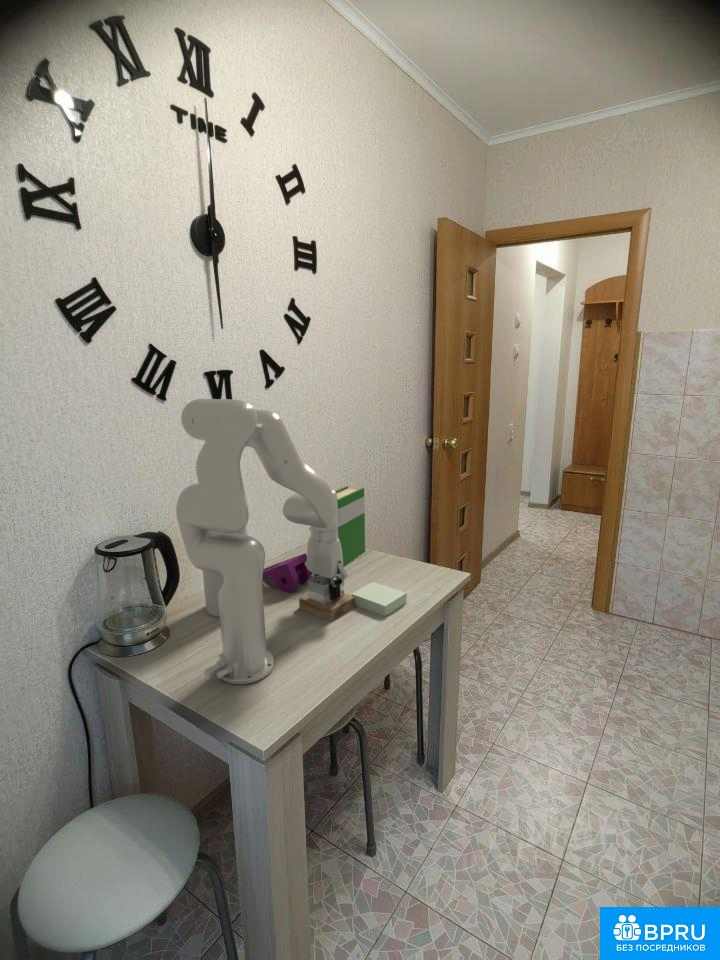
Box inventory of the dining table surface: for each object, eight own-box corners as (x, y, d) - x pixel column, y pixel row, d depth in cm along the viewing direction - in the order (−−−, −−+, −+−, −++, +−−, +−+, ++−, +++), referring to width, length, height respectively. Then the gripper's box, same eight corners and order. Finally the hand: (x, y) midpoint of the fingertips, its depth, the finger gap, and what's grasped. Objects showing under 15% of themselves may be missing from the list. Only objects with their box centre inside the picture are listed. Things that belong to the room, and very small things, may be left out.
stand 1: (330, 621, 131) (330, 610, 130) (299, 607, 138) (299, 598, 137) (354, 606, 138) (354, 597, 137) (324, 595, 146) (323, 585, 145)
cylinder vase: (236, 593, 148) (230, 514, 142) (260, 606, 139) (254, 522, 134) (198, 608, 139) (189, 524, 133) (221, 623, 131) (213, 534, 125)
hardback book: (347, 548, 182) (346, 486, 177) (365, 551, 179) (364, 488, 173) (321, 565, 167) (319, 497, 162) (340, 569, 164) (338, 500, 158)
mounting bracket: (258, 601, 155) (297, 589, 145) (247, 577, 155) (286, 563, 145) (277, 590, 163) (316, 577, 153) (267, 566, 163) (305, 553, 153)
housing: (324, 606, 133) (323, 582, 131) (309, 599, 136) (308, 576, 135) (344, 595, 139) (343, 572, 137) (328, 589, 142) (328, 567, 141)
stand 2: (385, 616, 133) (385, 606, 132) (351, 603, 140) (351, 593, 139) (406, 602, 140) (406, 592, 139) (373, 591, 148) (373, 581, 147)
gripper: (292, 531, 136) (295, 591, 140) (338, 544, 125) (340, 609, 129) (311, 524, 141) (314, 582, 145) (357, 536, 131) (359, 598, 135)
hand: (326, 594), depth 137 cm, fingers closed on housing, 6 cm apart
